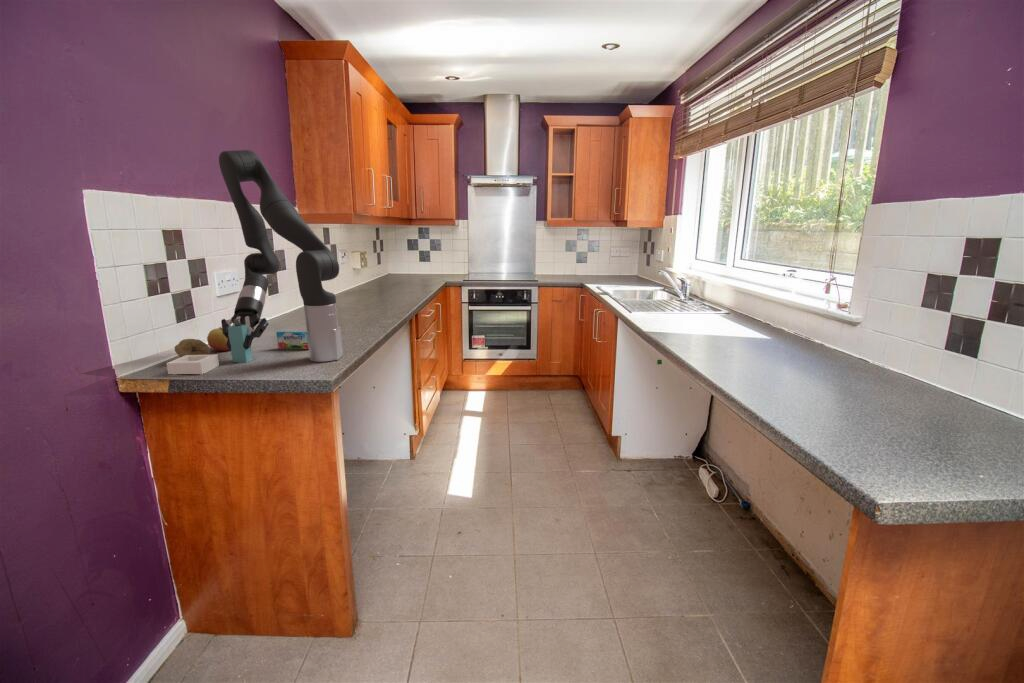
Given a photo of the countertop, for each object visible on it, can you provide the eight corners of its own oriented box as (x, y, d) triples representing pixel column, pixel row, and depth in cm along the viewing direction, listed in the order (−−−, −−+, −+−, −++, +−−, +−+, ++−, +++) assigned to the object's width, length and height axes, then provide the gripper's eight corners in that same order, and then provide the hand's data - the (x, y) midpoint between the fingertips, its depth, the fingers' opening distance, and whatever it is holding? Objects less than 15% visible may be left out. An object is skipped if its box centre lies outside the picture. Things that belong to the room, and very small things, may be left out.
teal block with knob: (252, 358, 147) (246, 318, 145) (246, 362, 144) (240, 320, 141) (239, 359, 147) (233, 318, 144) (233, 362, 143) (226, 320, 140)
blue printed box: (278, 349, 160) (276, 331, 158) (281, 348, 161) (278, 330, 160) (311, 350, 158) (309, 332, 157) (314, 349, 160) (312, 331, 158)
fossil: (169, 347, 140) (191, 333, 149) (163, 356, 141) (186, 342, 150) (196, 364, 142) (217, 350, 151) (191, 374, 143) (211, 359, 152)
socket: (219, 365, 140) (217, 354, 139) (202, 374, 131) (200, 362, 131) (187, 366, 140) (185, 355, 139) (168, 375, 131) (166, 363, 130)
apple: (202, 353, 156) (198, 329, 154) (221, 346, 165) (218, 323, 163) (230, 353, 155) (226, 329, 153) (248, 346, 164) (245, 323, 163)
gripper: (222, 296, 148) (207, 342, 139) (269, 295, 149) (256, 341, 140) (233, 310, 154) (219, 355, 145) (277, 309, 155) (266, 353, 146)
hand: (237, 347), depth 142 cm, fingers closed on teal block with knob, 4 cm apart
